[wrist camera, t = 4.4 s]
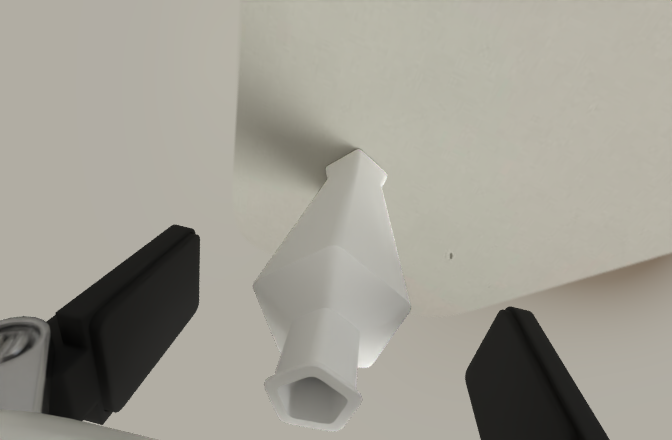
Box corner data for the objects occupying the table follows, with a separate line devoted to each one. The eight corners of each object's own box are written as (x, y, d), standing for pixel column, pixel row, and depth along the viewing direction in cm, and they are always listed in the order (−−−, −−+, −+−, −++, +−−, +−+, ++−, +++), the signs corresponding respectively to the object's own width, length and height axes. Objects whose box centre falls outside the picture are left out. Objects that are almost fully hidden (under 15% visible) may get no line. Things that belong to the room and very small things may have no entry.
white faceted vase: (397, 147, 19) (442, 337, 6) (386, 213, 21) (400, 471, 8) (321, 138, 20) (200, 301, 6) (317, 205, 22) (218, 438, 8)
